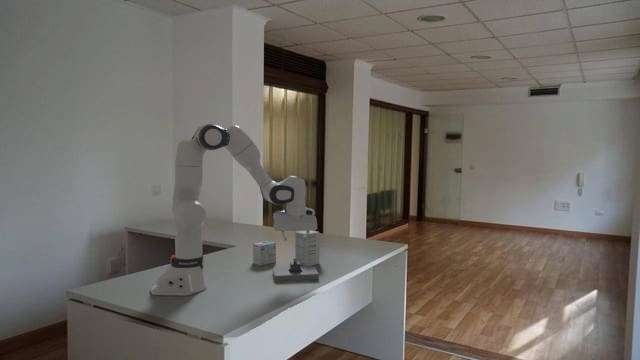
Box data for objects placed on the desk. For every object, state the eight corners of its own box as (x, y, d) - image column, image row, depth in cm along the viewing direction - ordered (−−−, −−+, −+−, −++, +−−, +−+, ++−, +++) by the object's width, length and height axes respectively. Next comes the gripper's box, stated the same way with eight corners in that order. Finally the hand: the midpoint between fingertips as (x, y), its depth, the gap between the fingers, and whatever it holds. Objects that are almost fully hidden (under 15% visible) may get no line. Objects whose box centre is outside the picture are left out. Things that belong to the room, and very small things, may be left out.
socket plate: (275, 282, 200) (275, 275, 200) (272, 273, 214) (272, 267, 214) (318, 280, 204) (318, 274, 203) (313, 271, 217) (313, 265, 217)
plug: (291, 277, 206) (291, 260, 206) (290, 274, 211) (290, 257, 210) (300, 276, 207) (300, 259, 206) (299, 273, 211) (299, 257, 211)
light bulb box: (268, 259, 238) (268, 240, 237) (276, 262, 233) (276, 242, 232) (252, 263, 231) (252, 243, 230) (260, 266, 226) (260, 245, 225)
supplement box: (320, 263, 232) (320, 231, 230) (307, 267, 225) (307, 234, 224) (307, 260, 239) (307, 229, 237) (294, 263, 232) (294, 231, 231)
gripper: (273, 211, 201) (273, 241, 202) (318, 211, 205) (317, 241, 206) (272, 209, 207) (272, 238, 208) (315, 209, 211) (315, 238, 212)
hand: (295, 240), depth 207 cm, fingers open, 8 cm apart
